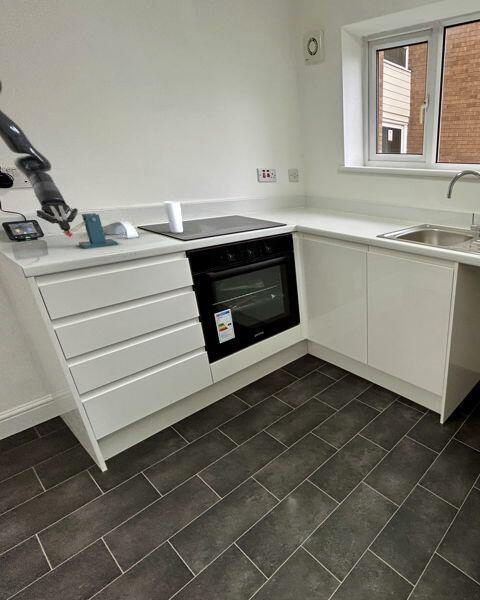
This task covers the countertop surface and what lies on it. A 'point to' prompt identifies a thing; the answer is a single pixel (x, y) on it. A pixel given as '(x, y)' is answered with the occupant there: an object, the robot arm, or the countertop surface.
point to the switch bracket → (95, 233)
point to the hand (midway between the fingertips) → (66, 229)
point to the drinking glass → (174, 216)
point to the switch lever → (75, 229)
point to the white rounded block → (120, 229)
